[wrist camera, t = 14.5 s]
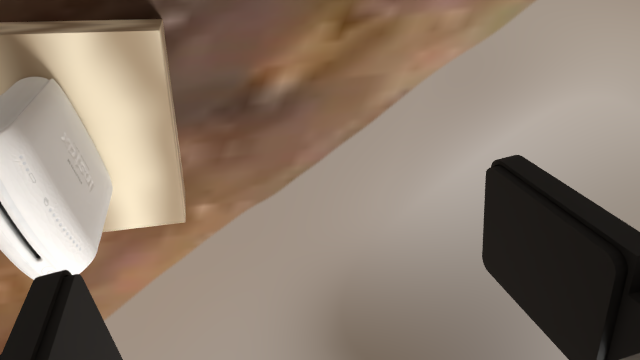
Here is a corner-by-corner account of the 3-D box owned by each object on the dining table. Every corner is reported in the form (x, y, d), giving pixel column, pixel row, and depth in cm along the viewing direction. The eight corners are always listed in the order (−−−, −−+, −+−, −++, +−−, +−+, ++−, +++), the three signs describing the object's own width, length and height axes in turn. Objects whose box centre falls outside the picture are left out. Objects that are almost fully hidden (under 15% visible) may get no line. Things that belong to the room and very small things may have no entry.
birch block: (162, 18, 39) (159, 30, 33) (185, 190, 46) (185, 222, 41) (-64, 22, 35) (-106, 37, 30) (0, 209, 42) (-26, 247, 37)
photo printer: (122, 189, 38) (99, 286, 27) (69, 207, 37) (24, 313, 27) (57, 67, 33) (-3, 127, 22) (-5, 85, 32) (-97, 156, 22)
